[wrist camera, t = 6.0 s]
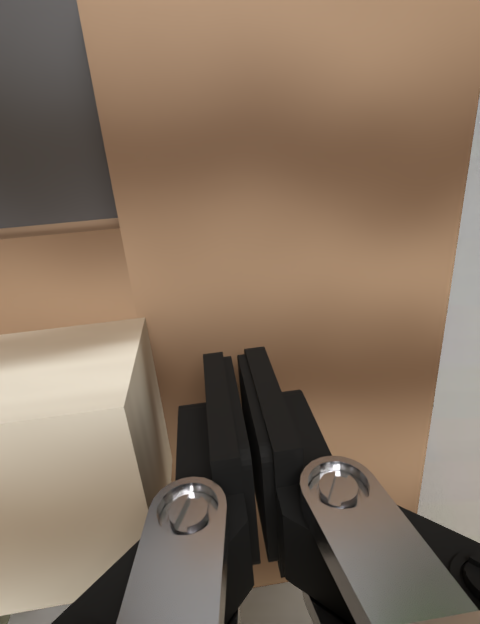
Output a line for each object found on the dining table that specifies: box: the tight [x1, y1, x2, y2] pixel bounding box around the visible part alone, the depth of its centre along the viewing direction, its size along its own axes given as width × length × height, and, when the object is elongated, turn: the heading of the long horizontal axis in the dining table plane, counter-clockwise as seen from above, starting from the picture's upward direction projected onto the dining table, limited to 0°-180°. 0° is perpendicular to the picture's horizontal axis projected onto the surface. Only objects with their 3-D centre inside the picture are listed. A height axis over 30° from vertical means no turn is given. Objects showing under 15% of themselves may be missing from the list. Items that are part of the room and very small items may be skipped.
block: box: [0, 317, 172, 616], centre depth 10 cm, size 5×5×4 cm
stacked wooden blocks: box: [0, 0, 480, 624], centre depth 12 cm, size 20×25×3 cm
